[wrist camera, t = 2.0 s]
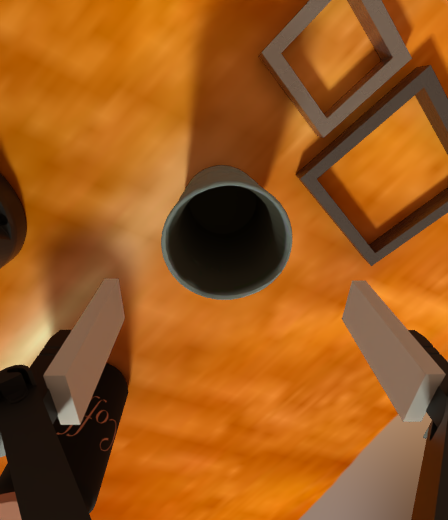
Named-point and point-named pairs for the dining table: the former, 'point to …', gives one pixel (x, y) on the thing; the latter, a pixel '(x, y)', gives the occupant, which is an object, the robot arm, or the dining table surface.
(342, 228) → the square hollow frame
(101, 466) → the coffee jar
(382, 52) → the grey diamond-shaped open frame
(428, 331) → the dining table surface
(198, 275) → the grey cup
